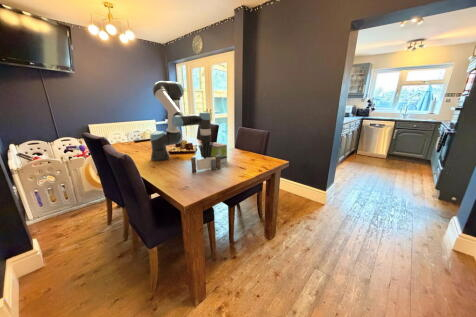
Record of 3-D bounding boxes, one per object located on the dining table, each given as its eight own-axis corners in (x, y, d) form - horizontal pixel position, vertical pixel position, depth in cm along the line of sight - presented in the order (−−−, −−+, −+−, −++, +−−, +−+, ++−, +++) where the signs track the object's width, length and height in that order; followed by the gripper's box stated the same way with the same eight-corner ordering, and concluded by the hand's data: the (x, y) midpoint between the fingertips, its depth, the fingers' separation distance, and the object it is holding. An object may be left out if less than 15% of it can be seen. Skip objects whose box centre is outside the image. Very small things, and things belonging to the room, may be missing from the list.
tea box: (227, 161, 161) (227, 144, 156) (218, 164, 154) (217, 146, 150) (216, 158, 171) (215, 141, 167) (207, 160, 164) (206, 143, 160)
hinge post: (191, 171, 138) (190, 157, 135) (196, 171, 140) (195, 156, 136) (192, 173, 135) (191, 158, 132) (197, 172, 136) (196, 158, 133)
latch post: (215, 168, 145) (215, 155, 142) (219, 167, 146) (219, 155, 143) (217, 169, 142) (216, 156, 139) (220, 169, 143) (220, 156, 141)
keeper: (211, 170, 141) (210, 159, 139) (215, 169, 142) (215, 159, 140) (211, 170, 140) (211, 160, 138) (216, 170, 141) (215, 159, 139)
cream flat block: (197, 170, 137) (197, 160, 135) (197, 169, 139) (196, 159, 137) (215, 167, 142) (215, 157, 140) (215, 166, 144) (214, 157, 142)
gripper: (202, 136, 129) (203, 169, 136) (215, 133, 140) (216, 164, 147) (194, 135, 133) (196, 166, 140) (208, 132, 144) (209, 162, 151)
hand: (206, 165), depth 144 cm, fingers closed
